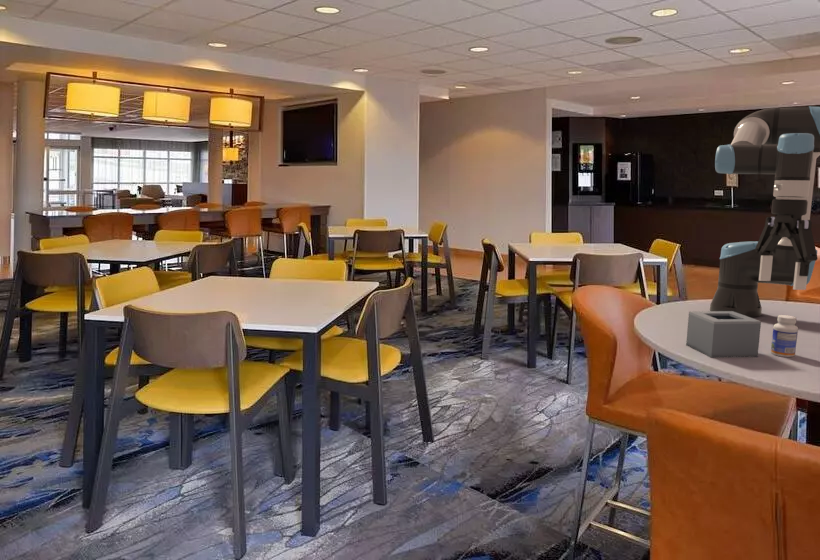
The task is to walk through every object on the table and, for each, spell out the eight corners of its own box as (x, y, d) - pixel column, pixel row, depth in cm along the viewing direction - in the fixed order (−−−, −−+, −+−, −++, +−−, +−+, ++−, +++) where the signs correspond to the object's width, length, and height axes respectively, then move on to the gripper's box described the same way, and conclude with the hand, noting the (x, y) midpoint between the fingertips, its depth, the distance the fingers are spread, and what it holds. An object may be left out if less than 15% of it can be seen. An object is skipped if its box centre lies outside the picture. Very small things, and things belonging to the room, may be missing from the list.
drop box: (729, 344, 174) (732, 311, 173) (757, 357, 162) (761, 321, 161) (686, 345, 173) (688, 311, 171) (711, 357, 161) (714, 321, 160)
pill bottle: (771, 350, 169) (775, 313, 167) (796, 354, 166) (800, 316, 164) (769, 355, 164) (773, 316, 163) (794, 358, 161) (798, 319, 160)
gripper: (745, 196, 172) (738, 277, 175) (810, 199, 148) (800, 293, 151) (772, 197, 173) (765, 277, 176) (841, 200, 148) (831, 293, 151)
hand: (781, 285), depth 163 cm, fingers open, 13 cm apart
